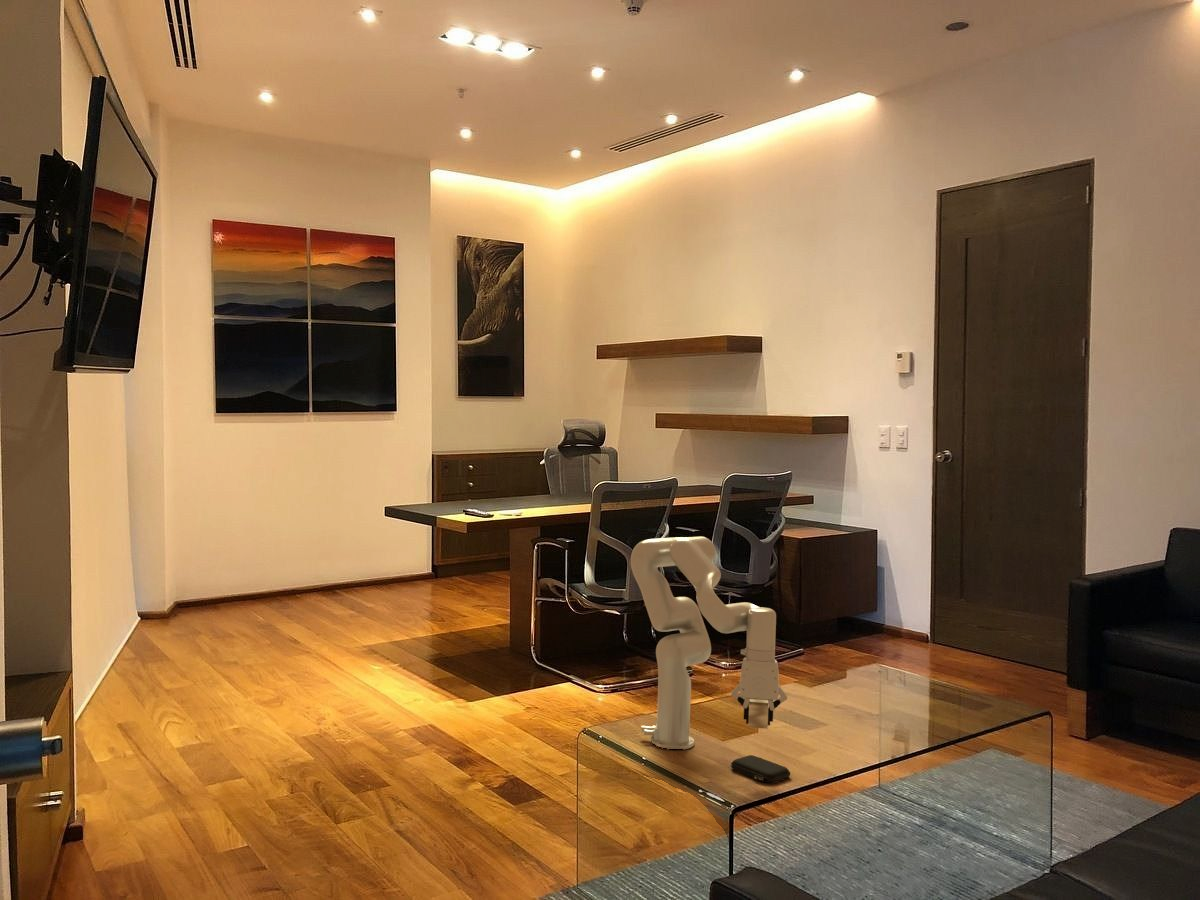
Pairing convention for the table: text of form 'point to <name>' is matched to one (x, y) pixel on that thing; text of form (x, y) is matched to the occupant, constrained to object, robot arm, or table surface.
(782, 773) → the carrying case or bag
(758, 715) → the birch block
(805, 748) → the table surface
